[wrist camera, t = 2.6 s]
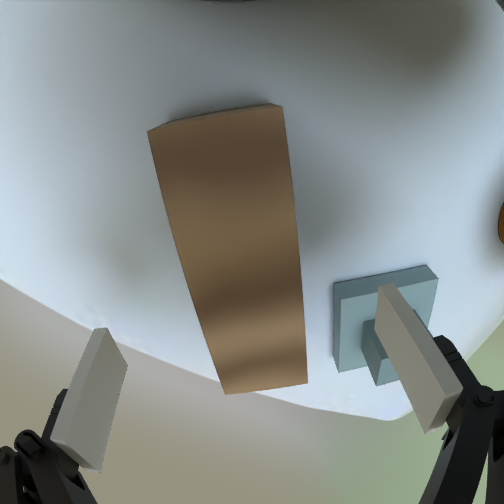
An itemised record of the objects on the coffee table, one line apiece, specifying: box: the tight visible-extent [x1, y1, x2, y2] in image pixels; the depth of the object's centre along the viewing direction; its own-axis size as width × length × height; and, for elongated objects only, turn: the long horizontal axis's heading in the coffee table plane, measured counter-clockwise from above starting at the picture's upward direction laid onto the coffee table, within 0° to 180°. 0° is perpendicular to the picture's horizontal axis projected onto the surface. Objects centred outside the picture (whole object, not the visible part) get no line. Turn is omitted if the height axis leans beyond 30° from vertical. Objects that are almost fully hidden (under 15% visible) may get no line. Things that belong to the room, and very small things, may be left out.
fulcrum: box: [333, 265, 439, 386], centre depth 22 cm, size 8×8×6 cm
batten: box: [147, 103, 308, 394], centre depth 19 cm, size 18×6×5 cm, turn 9°
